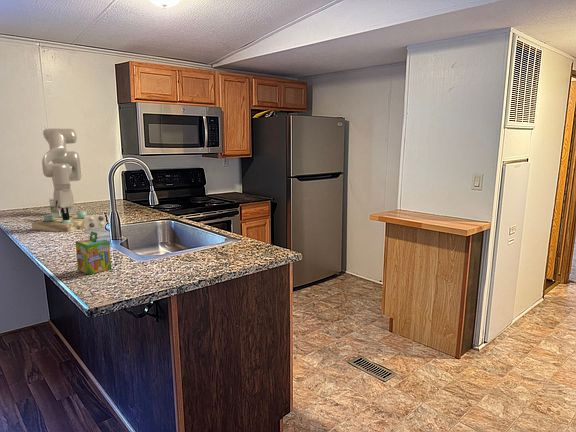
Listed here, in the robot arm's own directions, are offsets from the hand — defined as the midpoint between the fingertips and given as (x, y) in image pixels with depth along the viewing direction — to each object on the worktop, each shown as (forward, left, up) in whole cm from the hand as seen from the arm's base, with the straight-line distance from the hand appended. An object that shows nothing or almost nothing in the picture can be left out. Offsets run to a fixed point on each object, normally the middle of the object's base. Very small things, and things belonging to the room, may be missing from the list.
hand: (66, 219), depth 227 cm
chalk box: (+58, +67, -6) cm, 89 cm away
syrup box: (-20, -25, -6) cm, 33 cm away
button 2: (-12, -12, -2) cm, 17 cm away
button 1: (0, -12, -2) cm, 12 cm away
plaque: (-7, +14, -5) cm, 17 cm away
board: (-6, -6, -5) cm, 10 cm away
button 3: (0, 0, -4) cm, 4 cm away
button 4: (-12, 0, -2) cm, 12 cm away
